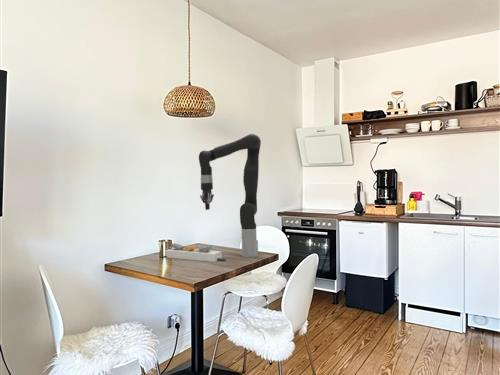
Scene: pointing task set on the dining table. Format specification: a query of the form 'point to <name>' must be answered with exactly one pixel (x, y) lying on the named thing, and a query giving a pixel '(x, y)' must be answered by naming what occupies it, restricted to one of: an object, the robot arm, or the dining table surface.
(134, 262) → the dining table surface
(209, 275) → the dining table surface
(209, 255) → the power strip
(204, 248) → the rocker near
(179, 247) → the rocker far
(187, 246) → the rocker middle
